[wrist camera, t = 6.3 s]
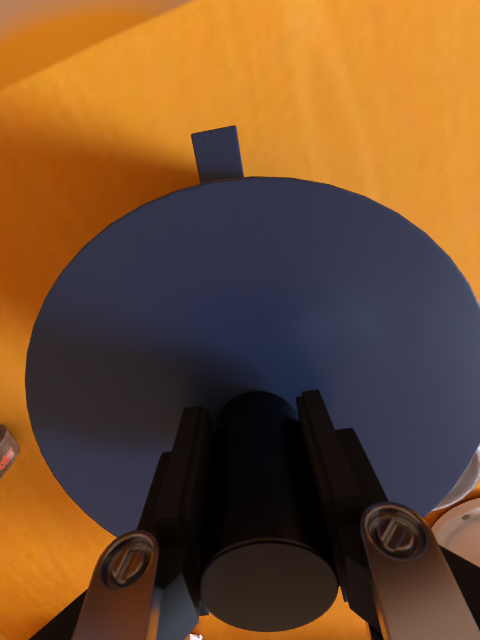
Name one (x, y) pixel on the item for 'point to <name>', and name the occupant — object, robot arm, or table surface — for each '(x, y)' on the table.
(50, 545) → the table surface
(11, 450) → the tin
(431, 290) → the pot lid
